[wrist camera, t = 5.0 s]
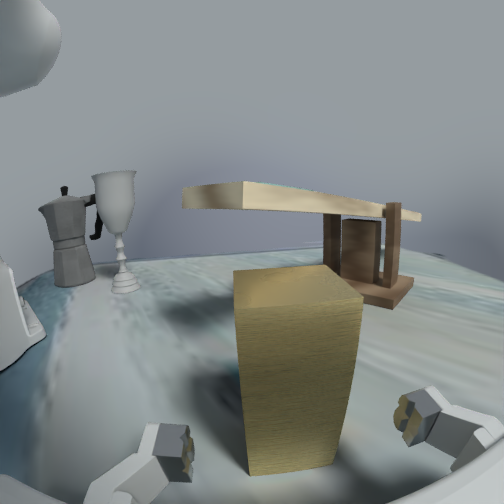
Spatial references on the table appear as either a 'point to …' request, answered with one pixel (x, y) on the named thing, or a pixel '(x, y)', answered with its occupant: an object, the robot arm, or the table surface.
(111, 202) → the chalice
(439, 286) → the table surface
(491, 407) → the table surface
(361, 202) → the balance beam
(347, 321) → the tall olive textured block
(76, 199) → the coffeepot
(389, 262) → the beam stand
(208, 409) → the table surface
